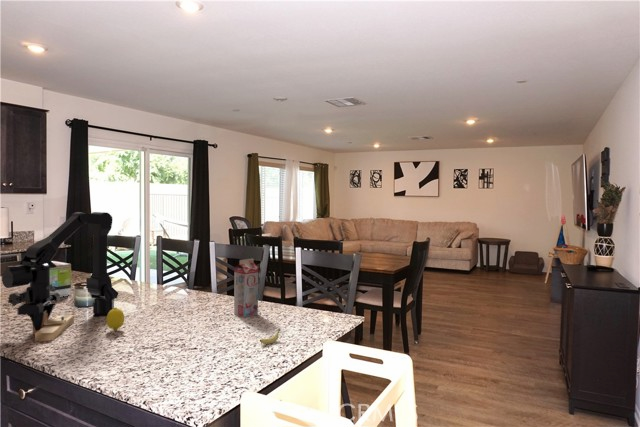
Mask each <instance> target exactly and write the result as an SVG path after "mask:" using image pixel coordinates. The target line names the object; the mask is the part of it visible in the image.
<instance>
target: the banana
mask: <svg viewBox="0 0 640 427" xmlns="http://www.w3.org/2000/svg"><path fill="white" fill-rule="evenodd" d="M280 332H281V328H280V327H279V328H278V330H277V333H275V334H274V335H273V336H271V337H269V338H261V339H259V342H260V343H261V344H263V345H269V344H272V343H276V342H277V340H278V339H279V337H280V336H279V333H280Z"/></svg>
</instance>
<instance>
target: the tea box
mask: <svg viewBox="0 0 640 427" xmlns="http://www.w3.org/2000/svg"><path fill="white" fill-rule="evenodd" d="M51 261H52V263H53V264H55V265H56V266H57V267H55V268H50V284H52V287H51V288H50V293H58V294H59V295H60V298H63V296H64V297H68V295H69V296H72V264H71V263H67V262H62V261H57V260H51Z"/></svg>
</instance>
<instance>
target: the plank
mask: <svg viewBox="0 0 640 427" xmlns="http://www.w3.org/2000/svg"><path fill="white" fill-rule="evenodd" d="M63 316H64V319H66V323H65V324H51V325H46V326H44V327H43V328H42V329H40V330H39V331H38V332H36V333H35V334H34V341H35V342H44V341H54V340H55V339H56V338H57V337H58V336H60V334H62V333H63V332H64V331H65V330H66V329H68V326H69V325H70V326H71V325H72V324H74V322H75V315H74V314H67V315H65V314H64V315H63V314H62V315H58V316H56V317H55V318H54V319H61V317H63ZM70 326H69V327H70Z"/></svg>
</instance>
